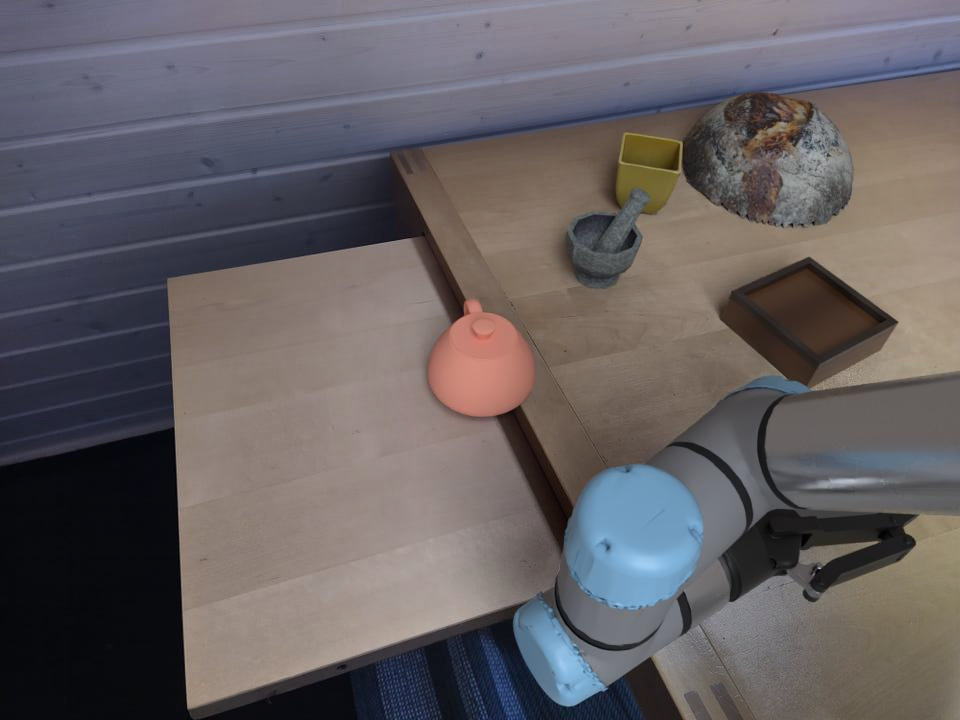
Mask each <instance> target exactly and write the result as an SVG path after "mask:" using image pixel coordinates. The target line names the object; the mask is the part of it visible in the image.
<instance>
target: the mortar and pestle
mask: <svg viewBox="0 0 960 720" xmlns="http://www.w3.org/2000/svg"><path fill="white" fill-rule="evenodd" d="M650 200H651V197H650V196H649V194H648V193H646V192H645V191H643V190H641V189H639V188H633V189H632V191H631V192H630V197H629V199H628V200H627V202H626V203H625V204H624V206H623V207H622V208H620V210H619V211H618V212H617V213H616V212H609V211H596V210H595V211H594V210H591V211H588V212H586V213H583V214H580V215H578V216H575V217H573V219H572V220H571V222H570V224H569V226H568V227H567V230H566V233H565V250H566V251H567V253H568V255H569V258H570V259H571V262H572V263H573V265H574V268H573V269H574V270H573V273H574V276H575V277H576V279H577V281H578V283H581V284H582V285H584V286H586V287H588V288H590V289H598V290H599V289H602V290H606V289H608V288H610V287H613V286H615V285H617V283H618V280H619V278H620V275H621V274H623V273H626V272H627V271H628V270H629V269H630V268H631V267H632V265H633V264H634V261H635V259H636V257H637V255H638V252H639V250H640V248H641V245H642V243H643V242H642V241H643V238H644V237H643V234H642V232H641V231H640V229H639V228H638V226H637V224H636V222H637V220H638V218H639V216H640V215H641V213H642V212H641V211H642V209H643V207H644V206H645V205H646V204H648V203H649V201H650Z"/></svg>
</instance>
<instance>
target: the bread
mask: <svg viewBox="0 0 960 720" xmlns="http://www.w3.org/2000/svg"><path fill="white" fill-rule="evenodd" d="M683 143H684V144H683V148H682V149H683V152H684V155H683V156H684V157H683V160H682V164H683V172H684V173H685V174H684V175H685V177H686V178H687V179H686V182H687V183H688V184H690V186H691V187H693V188H695V189H696V190H698V191H699V192H701V193H702V194H703V195H704V196H706V197H707V198H709V201H711V202H712V204H714V206H718V207H719V206H721V204H723V207H725V208H726V209H727V211H728V212H729V213H732V214H734V215H736V213H737V212H738V213H739V215H740V218H741V219H744V218H745V217H746V216H747V217H748V220H749V221H750V222H754V221H756V223H757V224H759V223H760V222H763V224H764V225H766V224H767V223H768V225H770V226H773V225H774V224H775V227H781V225H782V227H783V228H784V229H785V228H787V226H789V225H790V224H792V225H793V226H792V227H793V229H796V227H798V225H799V224H800V225H801V224H803V226H804V227H806V228H807V227H809V226H810V225H811V224H812V223H813V222H814V223H813V226H821V225H825V224H828V223H829V222H830V221H831V220H832V216H833V215H835V216H838V215H839V214H840V211H841V209H842V208H843V210H845V209H846V207H847V206H846V205H847V204H849V201H850V199H851V196H852V194H853V181H854V174H855V172H854V171H855V167H854V163H853V157H852V153H851V149H850V147H849V146H848V143H847V141H846V139H845V137H844V134H843V133H842V132H841V130H840V129H839V127H837V125H836V124H835V122H834V121H832V120H831V118H830V117H829V116H828V115H827V114H826V113H825V112H824V111H822V109H821V108H820V107H819V106H818V105H817V104H816V103H813V102H812V101H809V100H803V99H796V98H792V97H789V96H783V95H780V94H778V93H774V92H764V91H763V92H762V91H756V92H755V91H752V92H746V93H742V94H738V95H734V96H732V97H730V98H728V99H725V100H723V101H721V102H720V103H717V104H716V105H714V106H713V107H712V108H711V109H709V111H706V113H704V115H703V116H702V117H701V118H700V119H699V120H698V121H697V123H696V124H694V126H693V127H692V128H691V131H689V133H688V134H687V135H686V137H685V138H684V141H683Z"/></svg>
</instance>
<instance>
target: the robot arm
mask: <svg viewBox="0 0 960 720" xmlns="http://www.w3.org/2000/svg"><path fill="white" fill-rule="evenodd" d="M798 509H806V510H828V511H851V512H874V513H877V514H868V515H856V516H843V517H831V518H817V516H806V517H801V516H800V515H799V514H798V513H797V512H796V511H795V510H798ZM920 515H921V516H922V515H923V516H944V517H960V370H957V371H956V370H955V371H949V372H941V373H935V374H927V375H920V376H911V377H905V378H904V377H903V378H898V379H890V380H883V381H876V382H869V383H862V384H853V385H847V386H839V387H832V388H826V389H818V390H812V389H811V388H810V389H809V388H808V387H806V386H805V385H803V384H801V383H799V382H797V381H790V380H789V379H788V378H784V377H783V376H781V375H763V376H760V377H757V378H754V379H752V380H750V381H749V382H747V383H745V384H744V385H742V386H741V387H739V388H738V389H736V390H732V391H731V392H728V393H727V394H726V395H725V396H724V397H723V398H722V399H720V400H719V401H718V402H717V403H716V404H715V405H714V406H713V407H712V408H711V409H710V410H708V411H707V412H706V413H705V414H704V415H702V416H701V417H700V418H699V419H697V421H695V422H694V423H693V424H692V425H690V426H689V427H688V428H687V429H685V430H684V431H683V432H682V433H680V434H679V435H678V436H677V437H676V438H674V439H673V440H671V442H670V443H668V444H667V445H665V446H664V447H663V448H662V449H660V450H659V451H658V452H656V453H655V454H653V456H651V457H650V458H649V459H647V460H646V461H645V462H643V463H638V462H637V463H635V462H634V463H633V462H632V463H629V464H623V465H618V466H617V465H616V466H612V467H607V468H605V469H603V470H601V471H600V472H599V473H597V474H596V475H594V476H593V477H592V478H590V480H589V481H587V483H586V484H585V485H584V487H583V488H582V490H581V492H580V493H579V496H578V498H577V501H576V503H575V505H574V507H573V508H572V514H571V516H570V517H569V518H568V520H567V526H566V529H565V530H564V538H563V547H562V552H561V556H560V557H561V558H560V563H559V568H558V571H557V573H556V577H555V579H554V585H552V587H551V588H549V589H547V590H545V591H539V592H537V593H536V595H535V596H534V597H533V598H531V599H530V600H529V601H527V602H526V603H524V604H523V605H522V606H520V607H519V608H518V609H517V610H516V611H515V613H514V616H513V620H512V627H513V629H512V631H513V634H514V638H515V642H516V643H517V646H518V649H519V651H520V654H521V656H522V659H523V660H524V662H525V665H526V666H527V668H528V670H529V671H530V673H531V675H532V676H533V678H534V679H535V681H536V682H537V684H538V685H539V687H540V688H541V690H542V691H543V692H545V694H546V695H547V696H548V697H549V698H550V699H551V700H552V701H553V702H555V703H556V704H558V705H560V706H563V707H574V706H577V705H578V704H581V702H583V701H585V700H587V699H589V698H591V697H592V696H594V695H596V694H597V693H599V692H605V691H607V690H608V689H609V686H610V685H611V684H613V683H614V682H616V681H617V680H619V679H620V678H622V677H623V676H625V675H626V674H627V673H629V672H630V671H632V670H633V669H635V668H636V667H638V666H639V665H640V664H642V663H643V662H645V661H646V660H647V659H649V658H651V657H652V656H654V655H655V654H656V653H658V652H659V651H662V650H663V649H664V648H665V647H667V646H668V645H670V644H671V643H673V642H674V641H676V640H677V639H679V638H680V637H682V636H684V635H686V634H687V633H688V632H690V631H691V630H693V629H694V628H696V627H698V626H699V625H700V624H703V623H704V622H705V621H707V620H708V619H710V618H711V617H713V616H714V615H716V614H718V613H719V612H721V611H722V610H724V609H725V608H726V607H727V606H728V604H729V603H734V602H736V601H737V600H739V599H740V598H741V597H743V596H745V595H746V594H748V593H750V592H751V591H752V590H754V589H756V588H757V587H758V586H760V585H761V584H763V583H764V582H766V581H768V580H769V579H771V578H773V577H784V576H785V577H786V576H789V578H791V579H792V580H793V581H795V582H796V583H797V584H798V586H801V588H803V590H802V597H803V598H804V599H805V600H806V601H807V602H808V603H816V602H818V601H819V600H820V599H821V598H822V596H824V595H825V593H826V592H827V591H828V590H829V589H830V588H832V587H835V586H838V585H841V584H843V583H846V582H849V581H851V580H855V579H856V578H857V579H858V578H859V577H863V576H865V575H867V574H870V573H873V572H876V571H878V570H880V569H884V568H886V567H889V566H891V565H894V564H897V563H899V562H901V561H902V560H903V559H904V558H905V557H906V556H907V555H908V554H910V552H912V550H913V549H914V548H915V547H916V545H917V541H916V538H915V537H913V535H911V534H909V533H906V531H905V527H907V526H908V525H909V524H911V522H913V521H915V520H917V518H918V517H919V516H920ZM874 542H876V543H874ZM861 543H862V544H863V543H873V544H871V545H868V546H866V547H863V548H860V549H857V550H855V551H852V552H848V553H846V554H844V555H841V556H838V557H835V558H834V559H830V560H829V561H828V562H827V563H825V564H823V563H822V562H819V561H818V562H811V563H809V564H804V563H801V562H800V554H801V552H802V551H807V550H809V549H812V548H814V547H824V546H825V547H826V546H837V545H838V546H839V545H850V544H861Z"/></svg>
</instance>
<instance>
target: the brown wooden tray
mask: <svg viewBox="0 0 960 720" xmlns="http://www.w3.org/2000/svg"><path fill="white" fill-rule="evenodd" d="M720 320H721V321H722V323H724V324H725V325H726V326H727V327H728V328H729V329H731V330H732V332H734V333H735V334H736V335H738V336H739V337H740V338H741V339H742V340H743V341H744V342H745V343H747V344H748V345H749V346H750V347H752V349H754V351H756V352H757V353H758V354H759V355H760V356H761V357H763V358H764V359H765V360H767V362H768V363H770V364H771V365H772V366H773V367H774V368H775V369H776V370H778V371H779V372H780V373H781V374H782V375H784V377H786V379H787V380H790V381H797V382H799V383H801V384H803V385H805V386H806V387H808V388H809V389H810V390H811V389H812V388H813V387H815V386H818V385H819V384H821V383H823V382H824V381H826V380H828V379H831V378H832V377H833V376H836V375H838V374H839V373H841V372H843V371H845V370H848V368H851V367H852V366H854V365H855V364H858V363H859V362H861V361H863V360H865V359H867V358H868V357H870V356H872V355H874V354H876V353H878V352H879V351H881V350H882V349H883V347H884V346H885V344H886V343H887V341H888V340H889V338H890V336H891V335H892V333H893V332H894V330H895V329H896V328H897V325H899V323H900V321H898V320H897V319H896V318H894V317H893V316H892V315H890V314H889V313H888V312H886V311H885V310H884V309H882V308H881V307H879V306H878V305H876V304H875V303H874V302H872V301H871V300H870V299H868V298H866V297H865V296H864V295H863V294H861V293H860V292H859V291H857V290H856V289H854V288H853V287H852V286H850V285H849V284H848V283H846V282H845V281H843V280H842V279H841V278H840V277H838V276H837V275H835V274H834V273H833V272H831V271H830V270H829V269H827V268H826V267H824V266H823V265H822V264H820V263H819V262H818V261H817V260H815V259H813V258H812V257H811V256H807V257H805V258H803V259H801V260H797V261H796V262H794V263H791V264H789V265H787V266H785V267H782V268H780V269H778V270H776V271H774V272H772V273H769V274H767V275H764V276H762V277H760V278H758V279H755V280H753V281H751V282H749V283H747V284H744V285H742V286H740V287H738V288H735V289H733V290H732V291H731V292H730V294H729V297H728V300H727V302H726V304H725V306H724V310H723V312H722V315H721V317H720Z"/></svg>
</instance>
